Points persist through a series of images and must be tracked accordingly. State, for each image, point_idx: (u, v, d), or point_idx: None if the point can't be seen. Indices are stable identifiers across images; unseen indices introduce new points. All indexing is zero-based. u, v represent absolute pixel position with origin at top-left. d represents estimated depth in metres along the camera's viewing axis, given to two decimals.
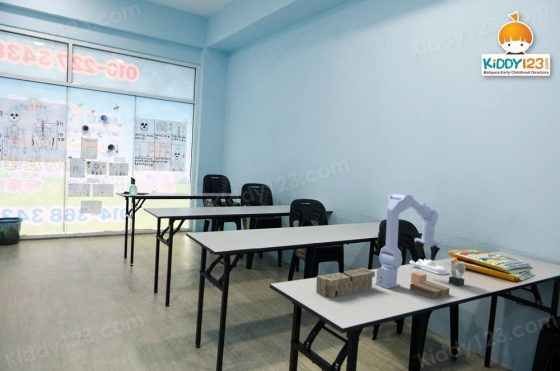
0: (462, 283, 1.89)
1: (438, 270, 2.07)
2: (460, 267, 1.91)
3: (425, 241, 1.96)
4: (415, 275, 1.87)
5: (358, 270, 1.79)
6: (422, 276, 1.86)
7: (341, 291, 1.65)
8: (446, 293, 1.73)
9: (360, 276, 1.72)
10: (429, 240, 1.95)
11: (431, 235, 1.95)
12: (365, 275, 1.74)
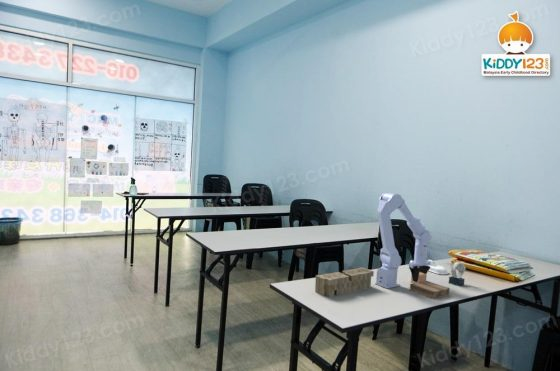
0: (462, 283, 1.89)
1: (438, 270, 2.07)
2: (460, 267, 1.91)
3: None
4: None
5: (357, 270, 1.80)
6: (422, 276, 1.86)
7: (340, 291, 1.66)
8: (446, 293, 1.73)
9: (359, 275, 1.73)
10: (414, 260, 1.88)
11: (415, 255, 1.87)
12: (363, 274, 1.74)
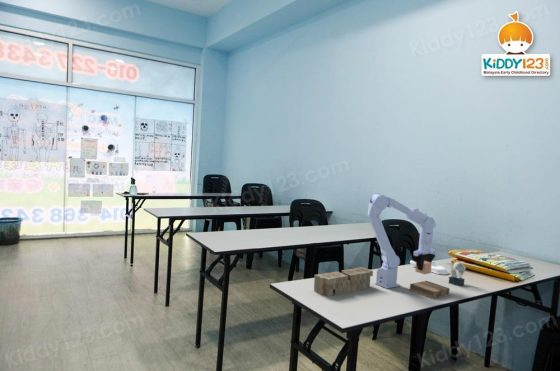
0: (462, 283, 1.89)
1: (438, 270, 2.07)
2: (460, 267, 1.91)
3: None
4: None
5: (356, 269, 1.80)
6: (427, 264, 1.81)
7: (339, 290, 1.67)
8: (446, 293, 1.73)
9: (358, 275, 1.73)
10: (419, 248, 1.83)
11: (420, 243, 1.82)
12: (363, 274, 1.75)
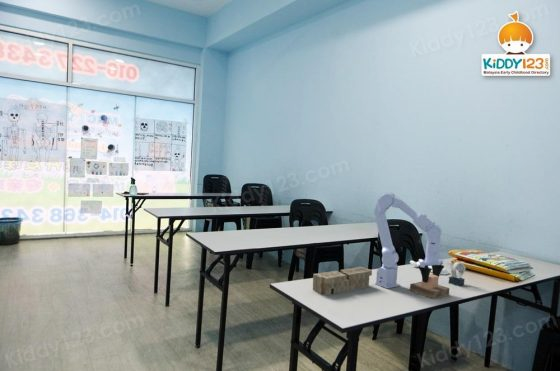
0: (462, 283, 1.89)
1: None
2: (460, 267, 1.91)
3: None
4: None
5: (355, 269, 1.81)
6: (434, 278, 1.73)
7: (337, 289, 1.68)
8: (446, 293, 1.73)
9: (357, 274, 1.74)
10: (425, 259, 1.75)
11: (427, 253, 1.74)
12: (361, 273, 1.76)
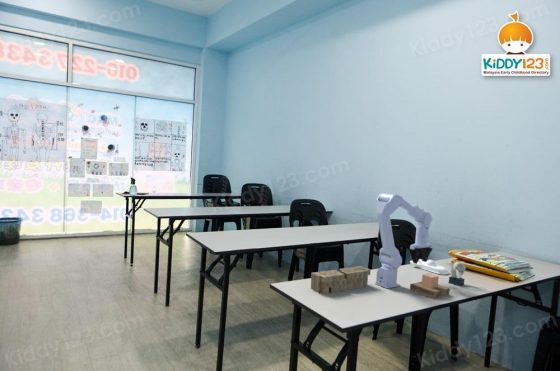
0: (462, 283, 1.89)
1: (439, 270, 2.07)
2: (460, 267, 1.91)
3: None
4: (426, 277, 1.74)
5: (354, 268, 1.82)
6: (434, 278, 1.73)
7: (335, 288, 1.69)
8: (446, 293, 1.73)
9: (355, 274, 1.75)
10: (415, 242, 1.92)
11: (416, 237, 1.91)
12: (360, 272, 1.77)
